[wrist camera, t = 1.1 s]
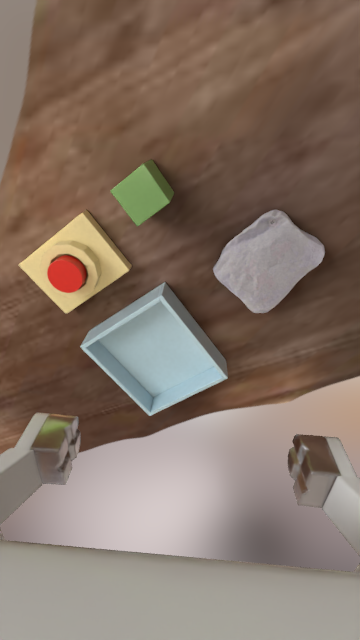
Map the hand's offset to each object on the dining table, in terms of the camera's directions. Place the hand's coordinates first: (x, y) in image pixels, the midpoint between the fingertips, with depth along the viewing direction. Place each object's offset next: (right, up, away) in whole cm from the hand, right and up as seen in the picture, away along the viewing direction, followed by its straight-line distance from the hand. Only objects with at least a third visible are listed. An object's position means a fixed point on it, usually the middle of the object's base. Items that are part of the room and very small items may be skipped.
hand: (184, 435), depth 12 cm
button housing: (-14, +12, +32) cm, 37 cm away
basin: (-4, 0, +38) cm, 39 cm away
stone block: (+10, +13, +30) cm, 35 cm away
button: (-14, +11, +30) cm, 35 cm away
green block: (-4, +20, +27) cm, 34 cm away
